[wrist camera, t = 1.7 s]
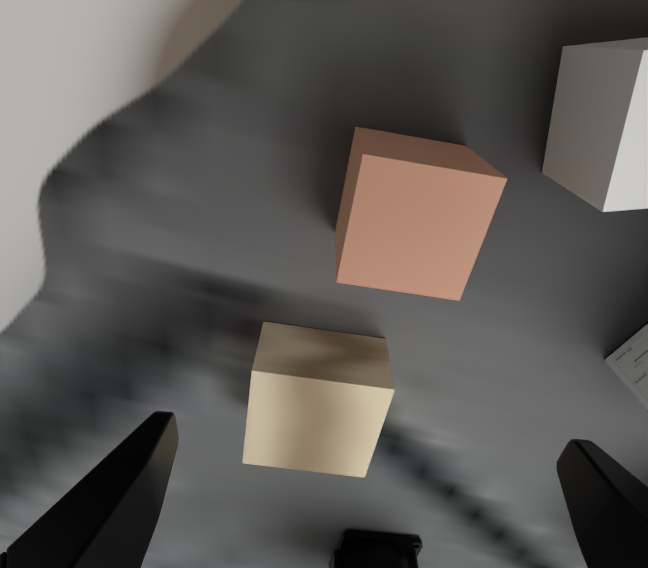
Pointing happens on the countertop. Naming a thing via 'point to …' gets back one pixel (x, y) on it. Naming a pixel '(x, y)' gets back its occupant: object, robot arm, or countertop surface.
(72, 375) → the countertop surface
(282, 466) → the birch block
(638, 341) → the light bulb box
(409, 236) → the terracotta cube
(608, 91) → the white cube
